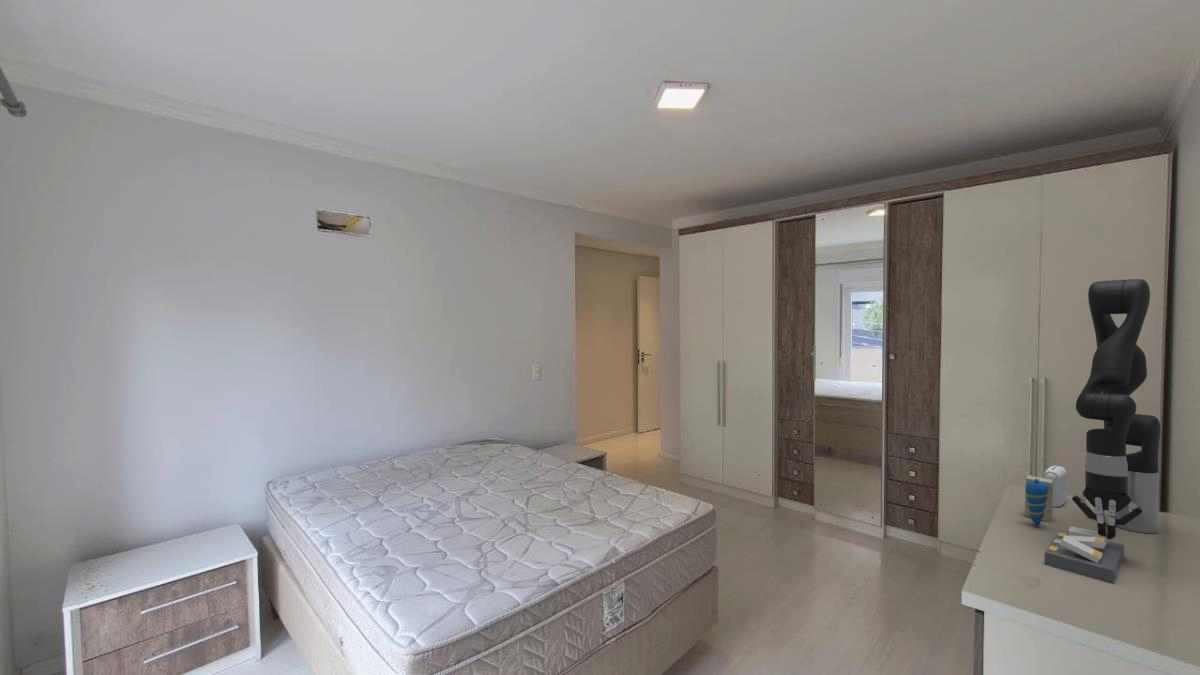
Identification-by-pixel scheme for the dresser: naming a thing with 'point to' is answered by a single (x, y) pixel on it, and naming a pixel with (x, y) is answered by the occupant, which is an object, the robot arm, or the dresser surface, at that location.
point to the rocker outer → (1081, 549)
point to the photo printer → (1058, 484)
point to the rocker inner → (1085, 533)
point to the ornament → (1036, 499)
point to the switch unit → (1086, 559)
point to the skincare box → (1049, 501)
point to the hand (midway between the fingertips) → (1106, 537)
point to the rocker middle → (1090, 541)
